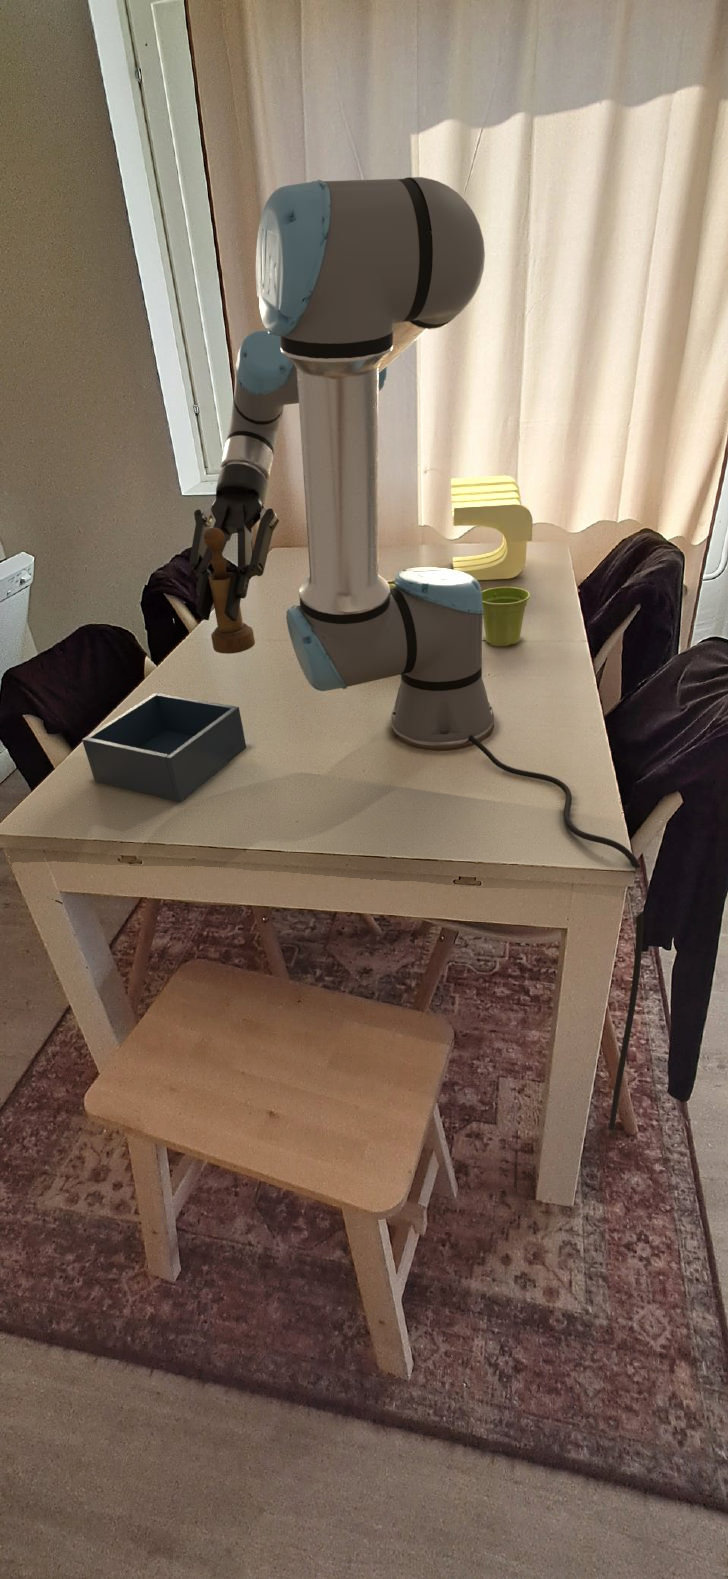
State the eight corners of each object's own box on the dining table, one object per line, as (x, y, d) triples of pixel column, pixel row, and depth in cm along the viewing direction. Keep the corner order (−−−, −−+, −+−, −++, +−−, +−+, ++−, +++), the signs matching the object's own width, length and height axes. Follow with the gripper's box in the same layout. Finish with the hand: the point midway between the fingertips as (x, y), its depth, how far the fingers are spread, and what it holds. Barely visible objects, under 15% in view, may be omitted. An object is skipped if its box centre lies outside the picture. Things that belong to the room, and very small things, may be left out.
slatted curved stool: (529, 589, 164) (533, 503, 155) (455, 593, 166) (453, 508, 156) (516, 550, 189) (519, 474, 180) (452, 554, 191) (450, 478, 181)
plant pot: (470, 648, 139) (470, 602, 135) (484, 629, 146) (484, 585, 142) (522, 652, 136) (523, 605, 131) (533, 633, 143) (535, 587, 138)
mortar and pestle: (246, 654, 117) (225, 533, 107) (207, 654, 118) (182, 535, 108) (260, 637, 122) (241, 521, 112) (222, 638, 123) (200, 523, 114)
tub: (246, 747, 114) (239, 706, 110) (180, 802, 102) (170, 758, 99) (165, 731, 120) (155, 692, 117) (94, 781, 109) (81, 739, 105)
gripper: (303, 489, 119) (278, 629, 115) (206, 491, 124) (178, 625, 120) (286, 459, 112) (258, 606, 108) (184, 462, 117) (153, 604, 113)
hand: (216, 616), depth 114 cm, fingers closed on mortar and pestle, 4 cm apart
